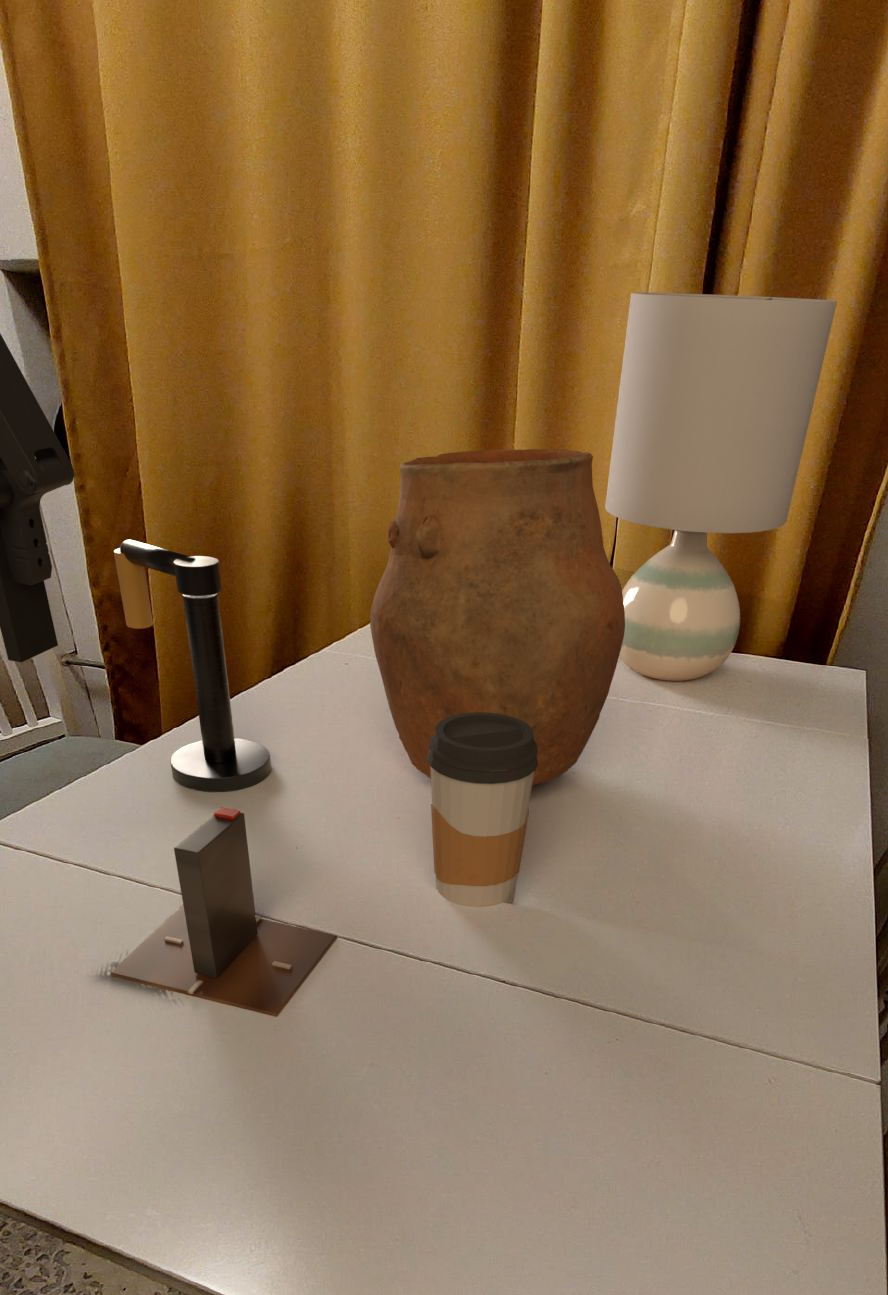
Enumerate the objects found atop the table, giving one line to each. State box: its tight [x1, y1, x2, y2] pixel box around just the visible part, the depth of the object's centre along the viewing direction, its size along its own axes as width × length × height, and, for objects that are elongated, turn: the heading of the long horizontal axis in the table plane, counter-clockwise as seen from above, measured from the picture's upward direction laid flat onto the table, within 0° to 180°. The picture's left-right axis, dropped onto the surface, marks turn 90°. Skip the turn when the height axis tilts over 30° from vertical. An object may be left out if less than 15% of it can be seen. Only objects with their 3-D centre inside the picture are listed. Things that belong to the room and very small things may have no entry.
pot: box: [369, 448, 625, 786], centre depth 89 cm, size 24×24×30 cm
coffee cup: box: [427, 712, 538, 908], centre depth 74 cm, size 8×8×15 cm
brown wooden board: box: [109, 903, 338, 1018], centre depth 69 cm, size 13×10×2 cm
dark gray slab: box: [173, 806, 257, 978], centre depth 65 cm, size 6×2×10 cm, turn 161°
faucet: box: [169, 593, 272, 793], centre depth 92 cm, size 10×10×18 cm
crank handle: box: [113, 539, 223, 630], centre depth 89 cm, size 14×4×8 cm, turn 50°
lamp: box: [604, 292, 838, 682], centre depth 113 cm, size 22×22×40 cm
